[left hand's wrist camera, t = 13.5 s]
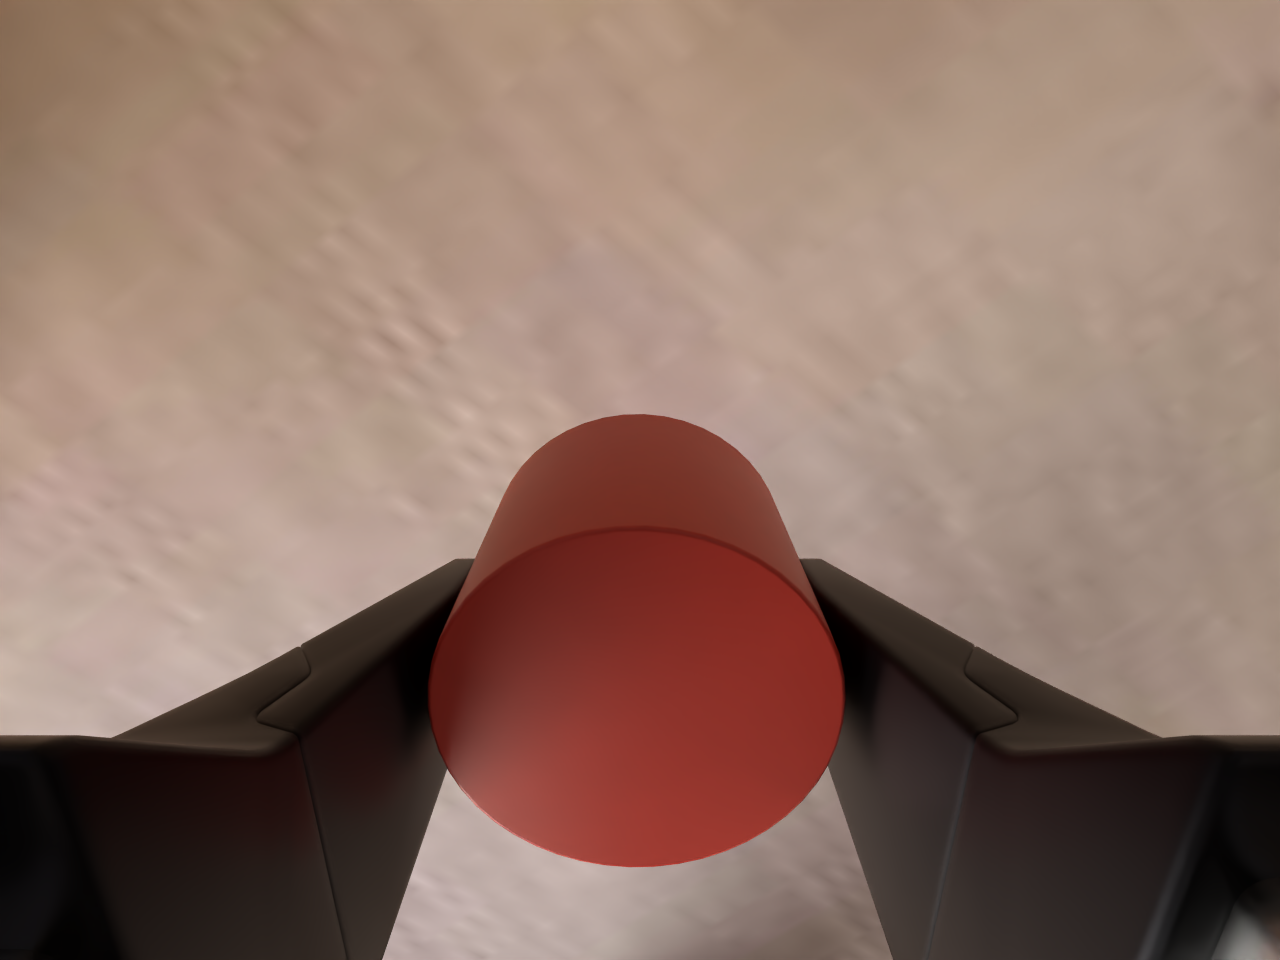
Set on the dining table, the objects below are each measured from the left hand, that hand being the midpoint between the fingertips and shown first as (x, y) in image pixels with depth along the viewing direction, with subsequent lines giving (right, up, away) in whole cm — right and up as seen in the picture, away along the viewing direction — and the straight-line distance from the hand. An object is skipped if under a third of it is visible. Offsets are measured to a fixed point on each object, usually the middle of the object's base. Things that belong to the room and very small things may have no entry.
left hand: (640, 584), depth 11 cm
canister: (0, 0, +1) cm, 1 cm away
